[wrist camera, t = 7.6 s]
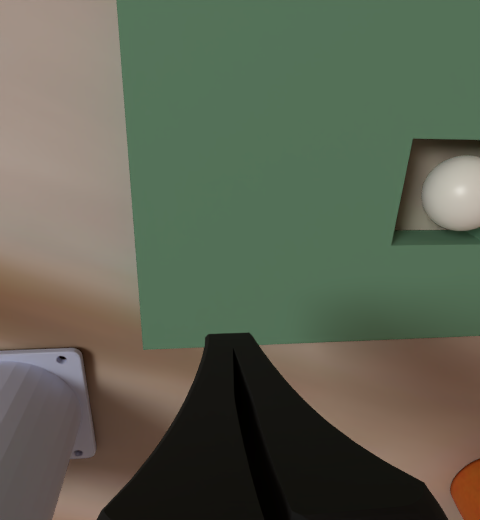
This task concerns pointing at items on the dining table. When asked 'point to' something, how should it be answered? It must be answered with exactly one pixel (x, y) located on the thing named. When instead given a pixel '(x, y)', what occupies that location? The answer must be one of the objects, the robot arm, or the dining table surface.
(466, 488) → the paper cup
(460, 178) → the ball
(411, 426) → the dining table surface
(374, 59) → the putting deck
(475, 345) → the dining table surface
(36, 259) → the dining table surface
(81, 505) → the dining table surface
